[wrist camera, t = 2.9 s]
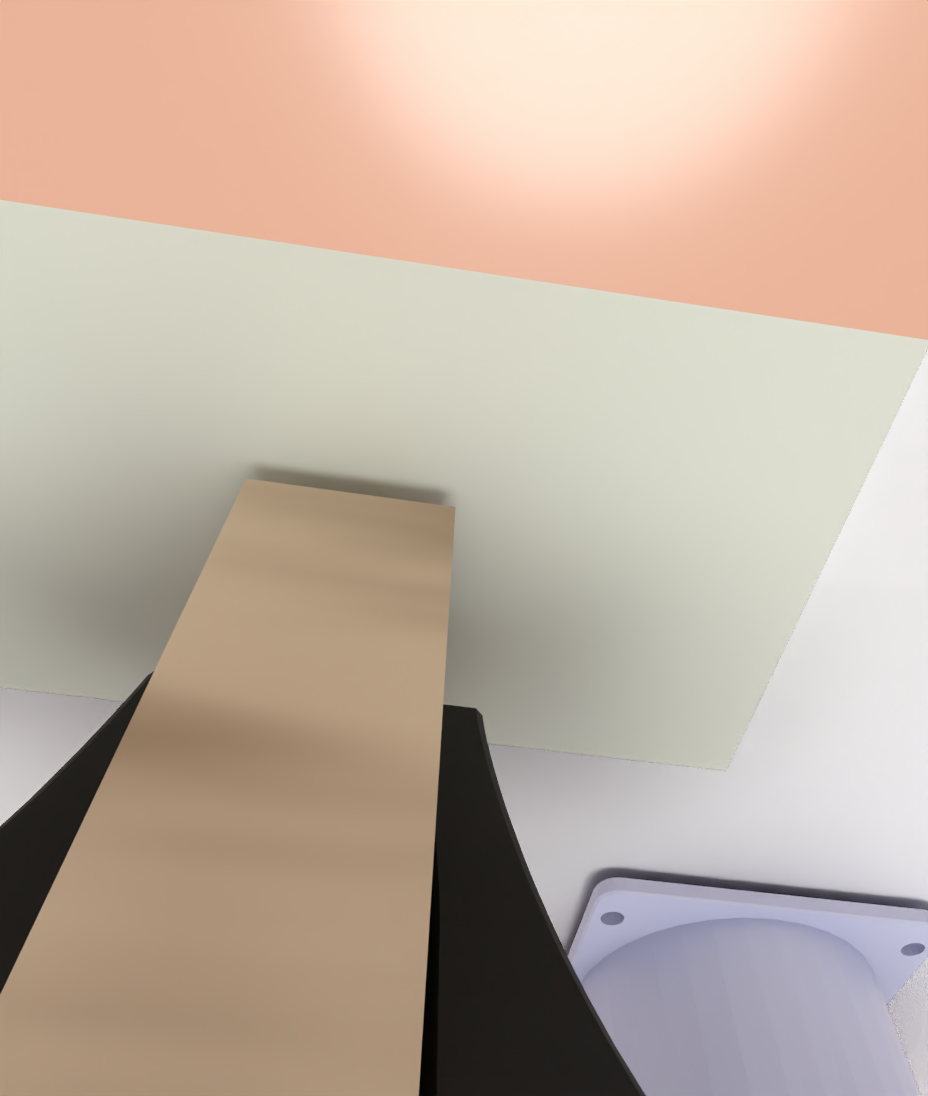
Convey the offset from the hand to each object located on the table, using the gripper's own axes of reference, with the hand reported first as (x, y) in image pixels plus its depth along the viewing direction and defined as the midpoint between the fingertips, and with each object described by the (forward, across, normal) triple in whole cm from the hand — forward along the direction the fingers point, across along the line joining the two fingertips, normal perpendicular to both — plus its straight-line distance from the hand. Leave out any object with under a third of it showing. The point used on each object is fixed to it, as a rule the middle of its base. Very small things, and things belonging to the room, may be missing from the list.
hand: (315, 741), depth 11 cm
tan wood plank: (+2, 0, 0) cm, 2 cm away
